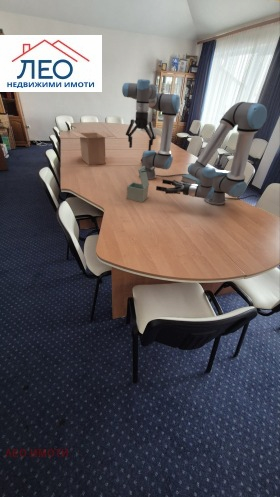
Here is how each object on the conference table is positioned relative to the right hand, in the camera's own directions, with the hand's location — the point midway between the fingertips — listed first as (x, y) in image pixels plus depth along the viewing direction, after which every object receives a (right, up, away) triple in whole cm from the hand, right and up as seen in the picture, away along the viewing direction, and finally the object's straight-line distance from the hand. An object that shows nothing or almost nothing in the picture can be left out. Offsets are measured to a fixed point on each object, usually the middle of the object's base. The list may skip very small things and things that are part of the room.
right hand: (159, 184), depth 153 cm
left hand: (-14, +21, -7) cm, 26 cm away
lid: (-11, +6, +3) cm, 13 cm away
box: (-64, +49, +84) cm, 116 cm away
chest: (-16, -6, +13) cm, 22 cm away
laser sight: (-2, +47, +87) cm, 99 cm away
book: (+38, +18, +52) cm, 66 cm away
